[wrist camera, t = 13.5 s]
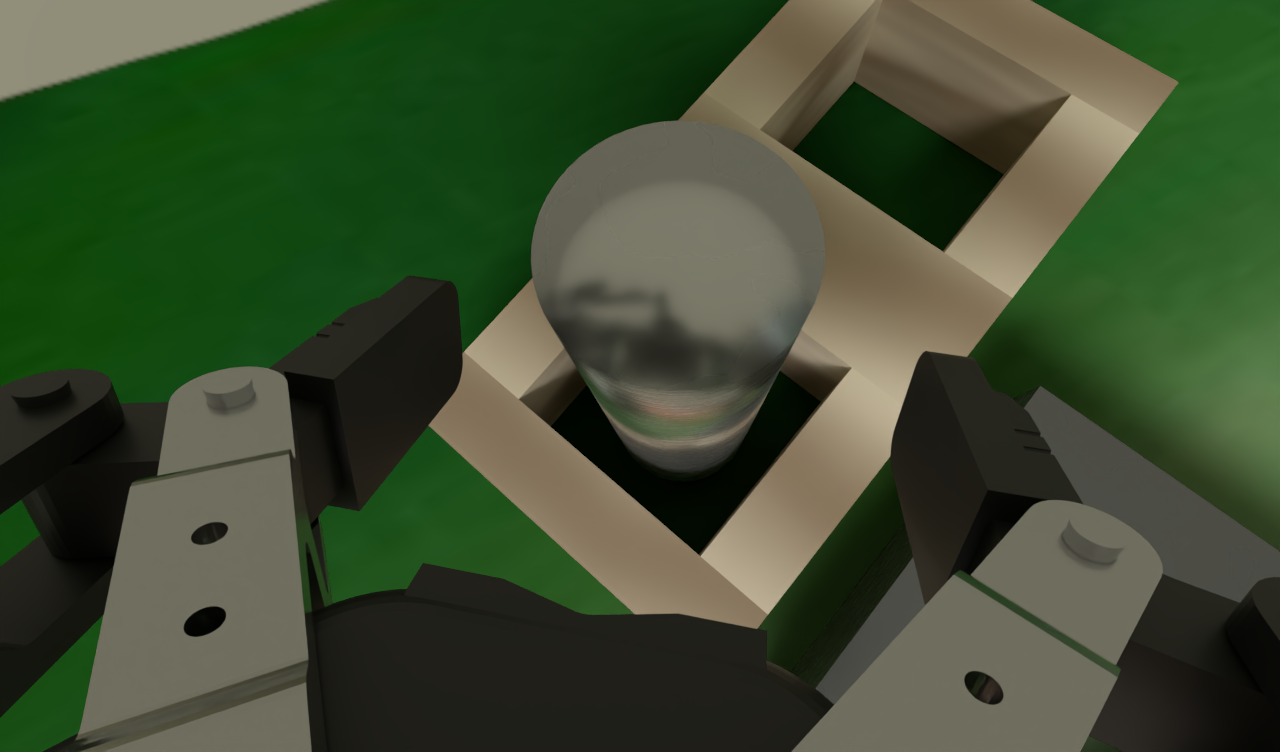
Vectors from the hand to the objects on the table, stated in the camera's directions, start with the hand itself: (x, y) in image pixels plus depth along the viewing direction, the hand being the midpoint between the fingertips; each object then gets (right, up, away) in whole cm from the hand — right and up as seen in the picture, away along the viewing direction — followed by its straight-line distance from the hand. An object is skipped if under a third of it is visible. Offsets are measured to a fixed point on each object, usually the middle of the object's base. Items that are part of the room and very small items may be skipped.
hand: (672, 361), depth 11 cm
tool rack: (+4, +2, +10) cm, 11 cm away
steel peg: (+1, -2, +9) cm, 9 cm away
